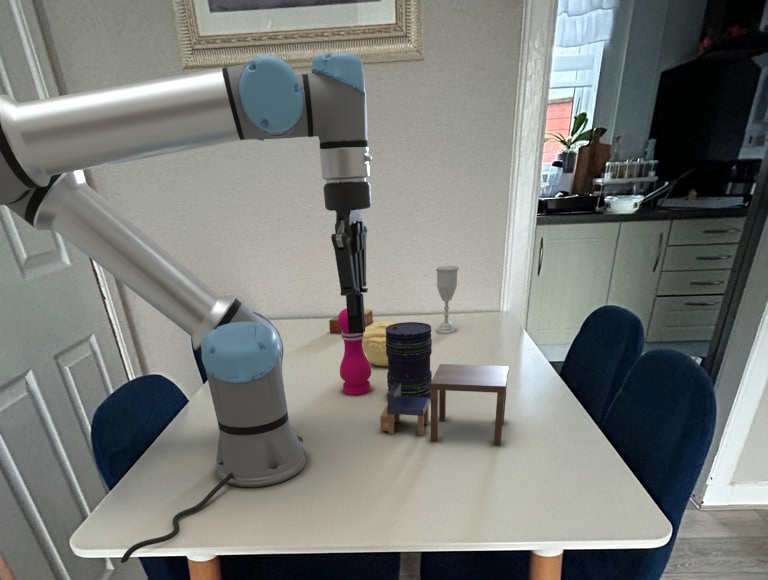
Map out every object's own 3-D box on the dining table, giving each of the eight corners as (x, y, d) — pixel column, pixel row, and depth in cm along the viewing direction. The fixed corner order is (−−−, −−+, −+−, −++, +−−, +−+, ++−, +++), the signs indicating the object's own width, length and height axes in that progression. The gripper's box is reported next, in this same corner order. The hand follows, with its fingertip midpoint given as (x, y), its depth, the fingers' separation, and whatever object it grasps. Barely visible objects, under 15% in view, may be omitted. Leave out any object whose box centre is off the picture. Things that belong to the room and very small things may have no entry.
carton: (373, 322, 180) (372, 308, 177) (353, 335, 167) (352, 320, 165) (350, 320, 182) (350, 307, 180) (329, 333, 170) (328, 319, 168)
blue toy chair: (380, 433, 105) (378, 393, 100) (388, 420, 110) (386, 382, 106) (423, 435, 103) (423, 395, 99) (429, 422, 108) (429, 383, 104)
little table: (500, 445, 98) (505, 386, 92) (430, 441, 101) (430, 383, 95) (504, 421, 107) (508, 366, 101) (439, 418, 110) (439, 363, 103)
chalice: (431, 329, 168) (431, 267, 159) (451, 326, 170) (452, 264, 160) (440, 335, 162) (441, 270, 153) (461, 332, 164) (463, 268, 154)
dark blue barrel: (435, 389, 123) (436, 322, 115) (427, 405, 116) (426, 334, 107) (394, 387, 126) (391, 321, 118) (382, 402, 118) (379, 333, 110)
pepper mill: (368, 396, 122) (362, 303, 111) (337, 395, 123) (328, 304, 112) (375, 385, 128) (370, 296, 117) (345, 384, 129) (338, 296, 118)
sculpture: (359, 369, 138) (356, 326, 132) (371, 355, 148) (369, 314, 142) (402, 370, 136) (401, 327, 130) (412, 356, 145) (411, 315, 140)
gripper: (357, 181, 79) (367, 342, 92) (379, 178, 90) (385, 323, 103) (309, 183, 81) (326, 341, 94) (336, 180, 92) (348, 322, 105)
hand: (357, 331), depth 98 cm, fingers closed
